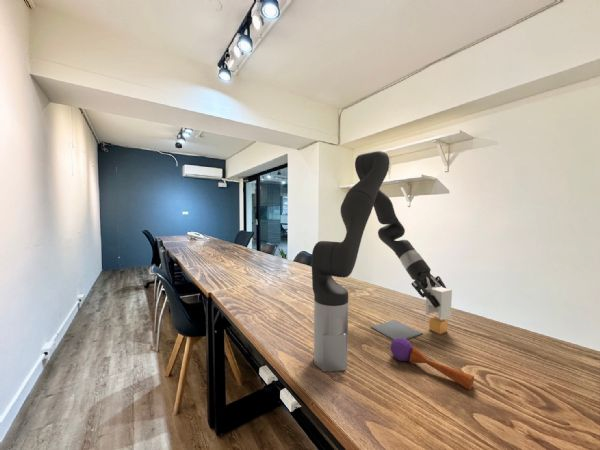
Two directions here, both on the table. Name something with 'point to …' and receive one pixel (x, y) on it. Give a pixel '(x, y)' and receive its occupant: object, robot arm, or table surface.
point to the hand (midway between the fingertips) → (443, 305)
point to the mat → (396, 330)
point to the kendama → (428, 362)
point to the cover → (443, 298)
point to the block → (438, 325)
